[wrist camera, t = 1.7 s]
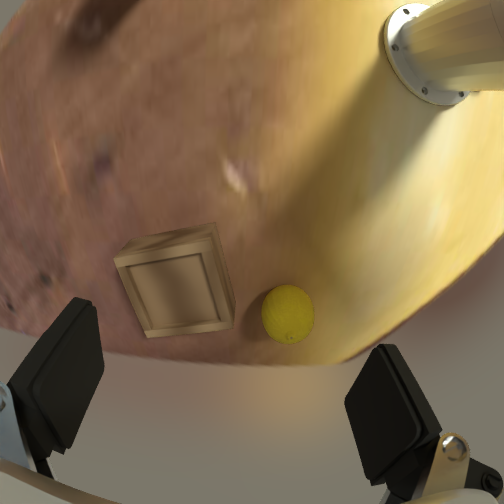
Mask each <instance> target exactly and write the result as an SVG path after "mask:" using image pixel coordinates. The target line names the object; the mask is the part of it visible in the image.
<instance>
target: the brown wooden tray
mask: <svg viewBox="0 0 504 504" xmlns="http://www.w3.org/2000/svg"><path fill="white" fill-rule="evenodd" d="M113 259H114V262H115V265H116V267H117V270H118V272H119V275H120V277H121V280H122V282H123V285H124V287H125V290H126V292H127V294H128V297H129V299H130V301H131V304H132V306H133V308H134V310H135V313H136V315H137V317H138V319H139V321H140V324H141V326H142V328H143V330H144V332H145V334H146V336H147V338H151V337H163V336H174V335H184V334H193V333H202V332H211V331H219V330H227V329H233V328H234V316H235V303H236V302H235V298H234V294H233V290H232V286H231V282H230V278H229V275H228V271H227V267H226V263H225V259H224V255H223V251H222V247H221V242H220V238H219V234H218V230H217V226H216V222H214V223H209V224H204V225H199V226H194V227H189V228H184V229H179V230H174V231H169V232H164V233H159V234H155V235H150V236H145V237H141V238H136V239H131V240H130V241H129V242H128V243H127V244H126V245H125V246H124V247H123V249H122V250H121V251H120V252H119V253H118V254H117V255H116V256H115V257H114V258H113Z"/></svg>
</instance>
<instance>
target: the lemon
mask: <svg viewBox="0 0 504 504" xmlns="http://www.w3.org/2000/svg"><path fill="white" fill-rule="evenodd" d="M261 317H262V321H263V325H264V328H265V330H266V331H267V333H268V334H269V336H270V337H271V338H273V339H274V340H275V341H277V342H279V343H283V344H294V343H297V342H299V341H301V340H303V339H304V338H305V337H306V336H307V335H308V334H309V333H310V331H311V329H312V326H313V323H314V308H313V304H312V301H311V299H310V298H309V296H308V295H307V293H306V292H304V291H303V290H302V289H301V288H299V287H297V286H293V285H281V286H278V287H276V288H274V289H272V290H271V291H270V292H269V293H268V294H267V296H266V297H265V299H264V301H263V304H262V310H261Z"/></svg>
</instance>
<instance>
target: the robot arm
mask: <svg viewBox="0 0 504 504" xmlns="http://www.w3.org/2000/svg"><path fill="white" fill-rule="evenodd" d="M384 45H385V50H386V54H387V56H388V59H389V62H390V64H391V66H392V68H393V69H394V71H395V73H396V74H397V76H398V77H399V79H400V80H401V81H402V82H403V84H404V85H405V86H406V87H407V88H408V89H409V90H410V91H411V92H413V93H414V94H415V95H416V96H418V97H419V98H421V99H423V100H424V101H427V102H429V103H432V104H436V105H454V104H457V103H459V102H461V101H463V100H464V99H465V98H466V97H467V96H468V95H469V93H470V92H471V91H504V0H443V1H441V2H438V3H436V4H434V5H432V6H427V5H424V4H418V3H411V4H406V5H403V6H401V7H399V8H397V9H396V10H395V11H393V12H392V13H391V15H390V16H389V17H388V19H387V21H386V23H385V28H384ZM392 48H393V49H392ZM103 372H104V360H103V354H102V347H101V341H100V334H99V326H98V318H97V310H96V307H95V306H92V302H91V301H89V300H85V299H81V298H78V297H74V298H73V299H72V300H71V301H70V303H69V304H68V305H67V306H66V307H65V309H64V310H63V311H62V312H61V313H60V315H59V316H58V317H57V318H56V320H55V321H54V322H53V323H52V325H51V326H50V327H49V328H48V330H46V331H45V332H44V333H43V335H42V336H41V337H40V339H39V340H38V341H37V343H36V344H35V345H34V347H33V348H32V349H31V351H30V352H29V353H28V355H27V356H26V357H25V359H24V360H23V362H22V363H21V364H20V366H19V367H18V369H17V370H16V372H15V373H14V374H13V376H12V377H11V379H10V380H9V382H8V383H7V385H5V384H4V383H2V382H1V381H0V504H120V503H117V502H113V501H110V500H107V499H104V498H101V497H98V496H94V495H91V494H88V493H86V492H83V491H80V490H78V489H75V488H72V487H70V486H67V485H65V484H62V483H60V482H59V481H58V479H57V477H56V474H55V472H54V470H53V467H52V465H51V462H50V459H49V457H50V454H51V452H52V450H54V451H56V452H59V453H61V454H63V455H64V452H65V450H66V448H68V449H69V448H71V446H72V444H73V442H74V439H75V437H76V434H77V432H78V429H79V427H80V424H81V422H82V420H83V417H84V415H85V413H86V410H87V408H88V406H89V404H90V401H91V399H92V397H93V395H94V392H95V390H96V388H97V386H98V384H99V381H100V379H101V377H102V375H103ZM344 405H345V408H346V412H347V415H348V418H349V421H350V425H351V428H352V431H353V434H354V438H355V441H356V445H357V448H358V451H359V455H360V459H361V462H362V466H363V469H364V473H365V476H366V478H367V479H368V480H370V483H371V486H374V485H379V484H384V483H385V482H386V484H387V489H386V491H385V493H384V495H383V497H382V499H381V501H380V503H379V504H504V488H503V480H502V477H501V476H500V474H499V473H498V472H497V471H496V470H494V469H493V468H491V467H488V466H486V465H484V464H482V463H480V462H478V461H476V460H474V459H472V458H470V448H469V445H468V443H467V442H466V440H465V439H464V438H463V437H461V436H460V435H458V434H455V433H446V434H444V435H443V436H442V437H440V435H439V433H440V432H441V431H442V428H441V426H440V424H439V422H438V420H437V418H436V416H435V414H434V412H433V410H432V409H431V407H430V405H429V403H428V401H427V399H426V398H425V395H424V394H423V392H422V390H421V388H420V386H419V384H418V383H417V381H416V379H415V377H414V376H413V374H412V372H411V370H410V369H409V367H408V365H407V363H406V362H405V360H404V359H403V357H402V355H401V353H400V351H399V350H398V348H397V347H396V345H394V344H379V345H378V346H377V347H376V348H374V349H373V350H372V352H371V353H370V355H369V357H368V359H367V361H366V363H365V364H364V366H363V368H362V370H361V372H360V373H359V375H358V377H357V379H356V380H355V382H354V384H353V386H352V387H351V389H350V391H349V392H348V394H347V395H346V397H345V401H344Z"/></svg>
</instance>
